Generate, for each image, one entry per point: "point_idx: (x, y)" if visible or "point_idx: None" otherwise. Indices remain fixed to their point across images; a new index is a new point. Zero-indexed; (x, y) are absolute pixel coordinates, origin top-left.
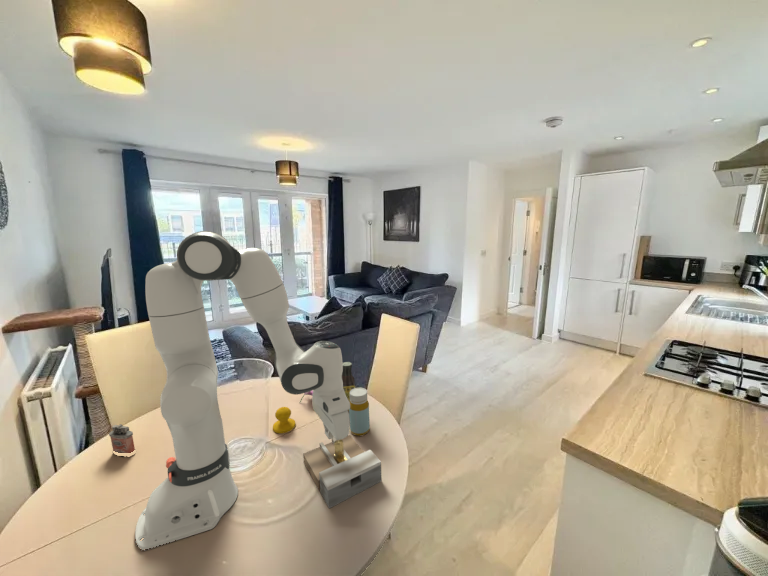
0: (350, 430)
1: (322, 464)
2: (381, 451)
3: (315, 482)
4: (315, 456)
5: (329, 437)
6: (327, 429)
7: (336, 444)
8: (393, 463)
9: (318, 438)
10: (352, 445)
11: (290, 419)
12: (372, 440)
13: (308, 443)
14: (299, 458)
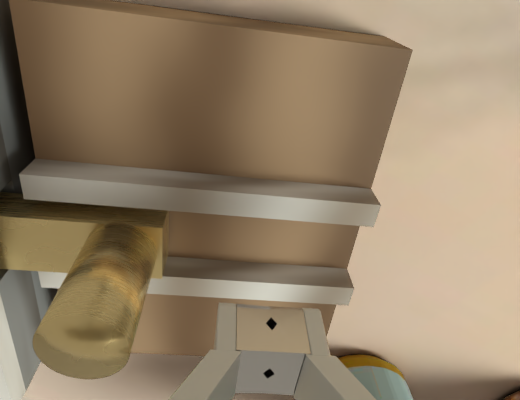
0: (378, 362)
1: (178, 117)
2: (149, 380)
3: (122, 3)
4: (301, 116)
5: (217, 320)
6: (301, 373)
7: (56, 324)
8: (45, 378)
9: (494, 218)
10: None
11: None
12: None
13: (516, 151)
14: (446, 28)
